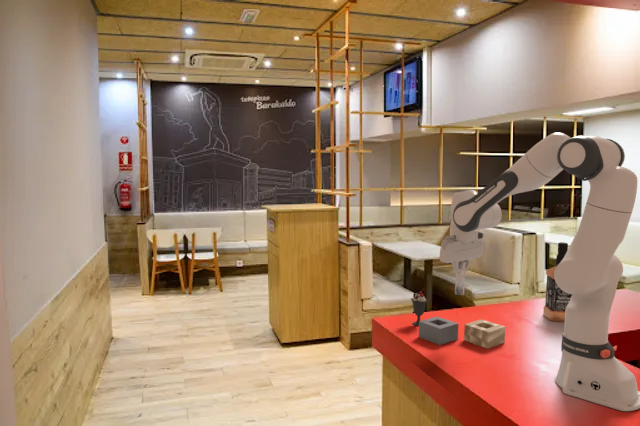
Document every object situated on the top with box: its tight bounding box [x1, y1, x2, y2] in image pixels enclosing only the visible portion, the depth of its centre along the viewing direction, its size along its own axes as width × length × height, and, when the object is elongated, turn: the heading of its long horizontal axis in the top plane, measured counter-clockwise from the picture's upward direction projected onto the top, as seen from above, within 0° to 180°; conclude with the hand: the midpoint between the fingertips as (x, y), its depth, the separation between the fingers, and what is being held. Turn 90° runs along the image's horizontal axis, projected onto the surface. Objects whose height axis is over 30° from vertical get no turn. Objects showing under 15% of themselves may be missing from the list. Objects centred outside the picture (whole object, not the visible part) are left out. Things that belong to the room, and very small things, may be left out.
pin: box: [454, 260, 466, 296], centre depth 174 cm, size 3×3×12 cm
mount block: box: [463, 319, 506, 350], centre depth 173 cm, size 10×10×6 cm
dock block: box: [418, 316, 459, 346], centre depth 177 cm, size 10×10×6 cm
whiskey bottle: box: [542, 242, 572, 323], centre depth 199 cm, size 10×10×32 cm
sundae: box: [410, 288, 429, 327], centre depth 192 cm, size 7×7×15 cm
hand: (460, 272), depth 173 cm, fingers closed on pin, 3 cm apart
